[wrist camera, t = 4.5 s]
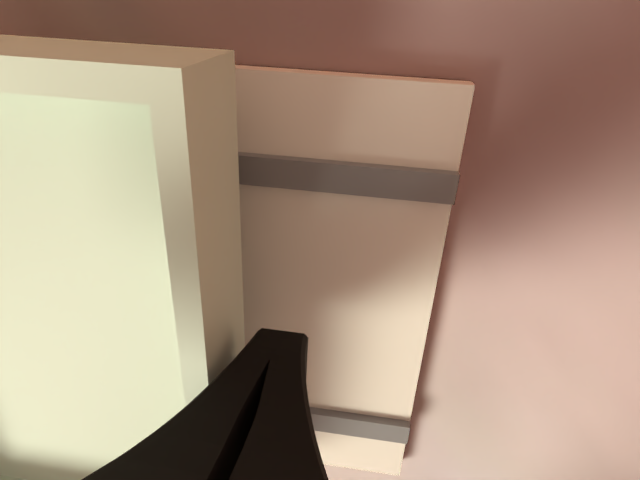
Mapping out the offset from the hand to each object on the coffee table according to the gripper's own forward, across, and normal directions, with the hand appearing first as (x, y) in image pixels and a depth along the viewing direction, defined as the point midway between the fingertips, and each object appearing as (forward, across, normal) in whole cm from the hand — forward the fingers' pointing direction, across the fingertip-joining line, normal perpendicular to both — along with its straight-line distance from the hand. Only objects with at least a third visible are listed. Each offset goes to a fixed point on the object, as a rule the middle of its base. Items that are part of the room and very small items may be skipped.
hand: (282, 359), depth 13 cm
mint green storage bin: (+3, +6, 0) cm, 7 cm away
